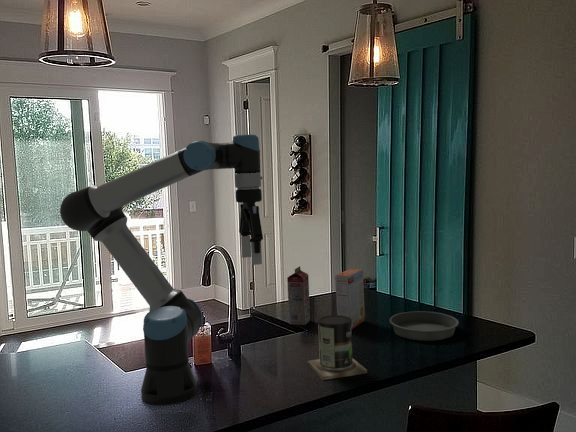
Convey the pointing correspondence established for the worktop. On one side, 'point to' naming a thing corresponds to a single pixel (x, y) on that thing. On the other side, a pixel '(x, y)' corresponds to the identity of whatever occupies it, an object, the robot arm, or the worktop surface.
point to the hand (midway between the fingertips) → (251, 260)
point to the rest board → (331, 374)
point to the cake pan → (424, 325)
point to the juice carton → (298, 297)
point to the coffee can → (335, 342)
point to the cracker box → (350, 295)
